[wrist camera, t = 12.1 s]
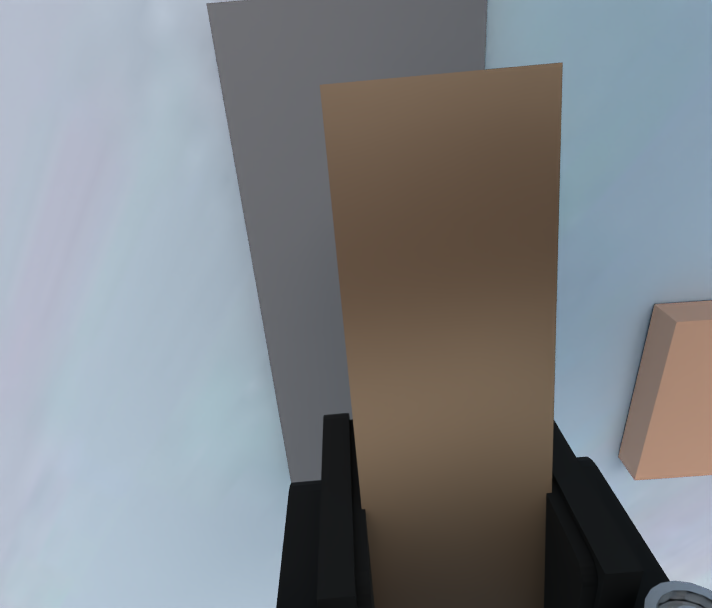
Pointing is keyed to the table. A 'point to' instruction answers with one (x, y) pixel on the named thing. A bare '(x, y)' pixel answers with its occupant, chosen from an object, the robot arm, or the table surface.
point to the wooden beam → (450, 324)
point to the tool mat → (314, 167)
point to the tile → (672, 396)
